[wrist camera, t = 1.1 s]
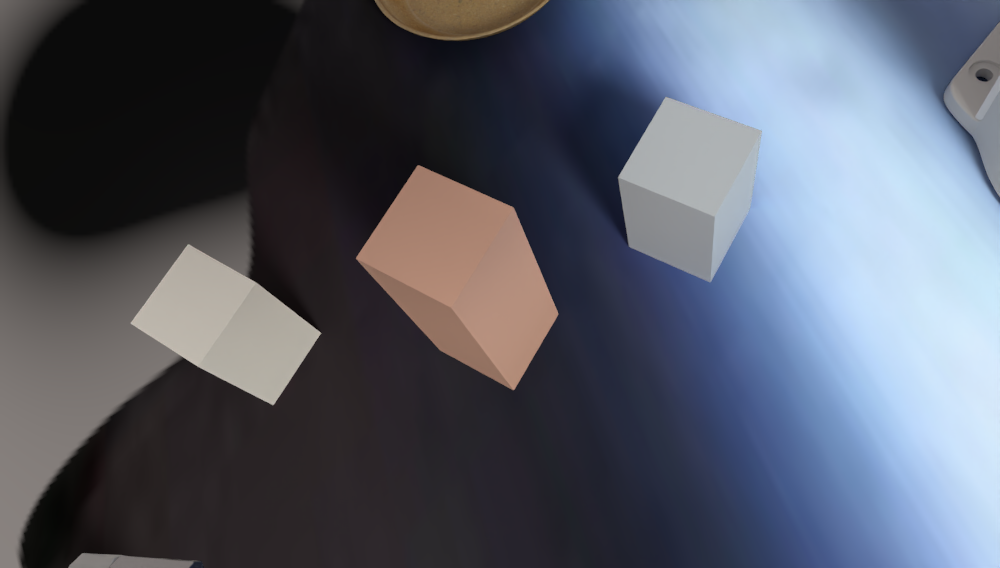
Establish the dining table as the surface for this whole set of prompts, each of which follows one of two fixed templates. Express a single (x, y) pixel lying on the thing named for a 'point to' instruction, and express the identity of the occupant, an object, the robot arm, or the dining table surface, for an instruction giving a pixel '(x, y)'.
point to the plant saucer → (458, 16)
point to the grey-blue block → (689, 187)
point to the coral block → (462, 274)
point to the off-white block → (227, 325)
